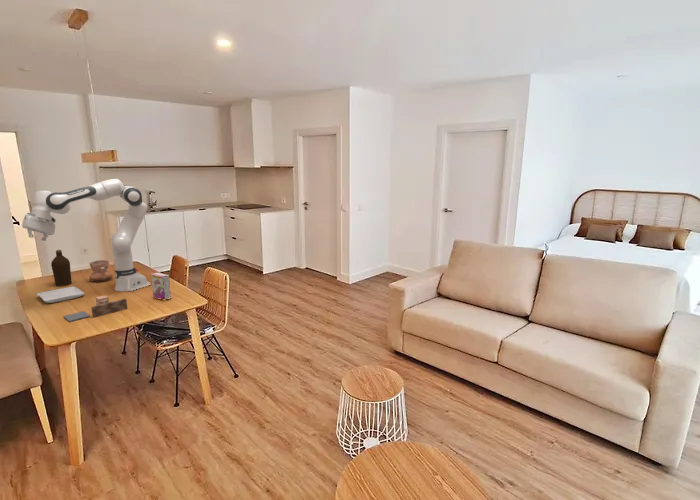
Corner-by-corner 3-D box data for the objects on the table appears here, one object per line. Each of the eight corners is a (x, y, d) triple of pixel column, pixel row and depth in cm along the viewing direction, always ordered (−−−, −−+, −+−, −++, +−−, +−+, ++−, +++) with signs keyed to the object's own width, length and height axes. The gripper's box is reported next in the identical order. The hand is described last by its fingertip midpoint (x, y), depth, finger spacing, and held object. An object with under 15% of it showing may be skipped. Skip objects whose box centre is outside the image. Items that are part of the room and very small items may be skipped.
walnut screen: (125, 307, 235) (124, 298, 233) (127, 308, 233) (126, 299, 232) (92, 316, 221) (91, 306, 219) (94, 317, 220) (92, 307, 218)
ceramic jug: (115, 280, 285) (113, 262, 282) (93, 284, 274) (90, 265, 272) (108, 276, 297) (106, 258, 294) (86, 279, 287) (84, 261, 284)
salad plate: (74, 290, 264) (74, 285, 263) (85, 297, 251) (85, 292, 250) (36, 298, 248) (35, 293, 247) (45, 306, 235) (44, 301, 234)
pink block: (106, 307, 234) (104, 295, 232) (109, 309, 231) (108, 297, 229) (97, 310, 230) (95, 297, 229) (100, 312, 227) (98, 299, 225)
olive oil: (70, 285, 272) (65, 251, 266) (52, 287, 267) (47, 252, 262) (74, 281, 281) (69, 248, 275) (56, 283, 277) (51, 249, 271)
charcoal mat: (83, 312, 226) (83, 311, 226) (90, 316, 220) (90, 315, 220) (63, 317, 218) (63, 316, 218) (69, 322, 213) (69, 320, 212)
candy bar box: (152, 298, 251) (150, 274, 248) (159, 296, 256) (157, 272, 252) (164, 301, 247) (162, 276, 243) (171, 298, 251) (169, 274, 248)
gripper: (31, 211, 221) (28, 235, 218) (58, 220, 241) (55, 242, 238) (20, 211, 221) (17, 235, 218) (48, 221, 241) (45, 242, 238)
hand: (37, 239), depth 228 cm, fingers open, 8 cm apart
